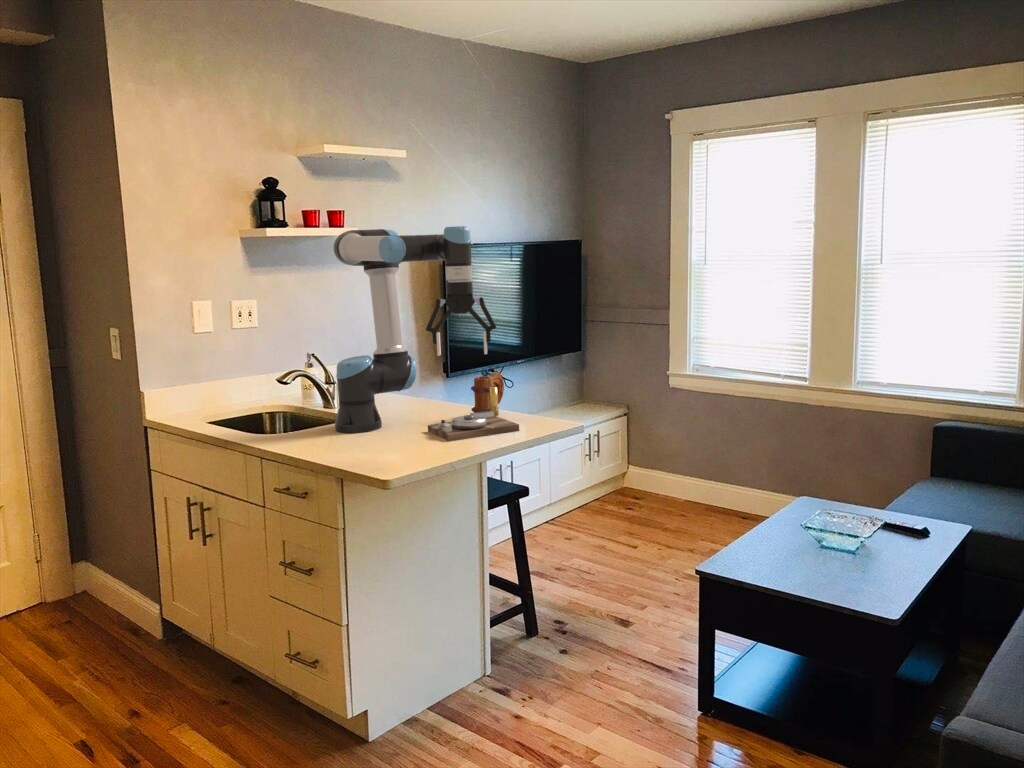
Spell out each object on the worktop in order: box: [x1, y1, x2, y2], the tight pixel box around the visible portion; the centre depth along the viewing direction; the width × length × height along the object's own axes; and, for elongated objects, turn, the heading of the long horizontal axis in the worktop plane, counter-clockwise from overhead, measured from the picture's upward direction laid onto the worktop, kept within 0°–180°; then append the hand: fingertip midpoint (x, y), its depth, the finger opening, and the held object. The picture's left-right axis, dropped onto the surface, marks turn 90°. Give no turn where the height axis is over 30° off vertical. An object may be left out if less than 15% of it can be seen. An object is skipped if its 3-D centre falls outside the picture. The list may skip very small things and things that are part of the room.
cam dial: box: [450, 387, 500, 429], centre depth 260 cm, size 16×11×11 cm
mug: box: [470, 371, 505, 413], centre depth 282 cm, size 15×8×15 cm, turn 143°
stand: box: [427, 416, 520, 442], centre depth 262 cm, size 17×24×5 cm
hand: (462, 354), depth 241 cm, fingers open, 13 cm apart
